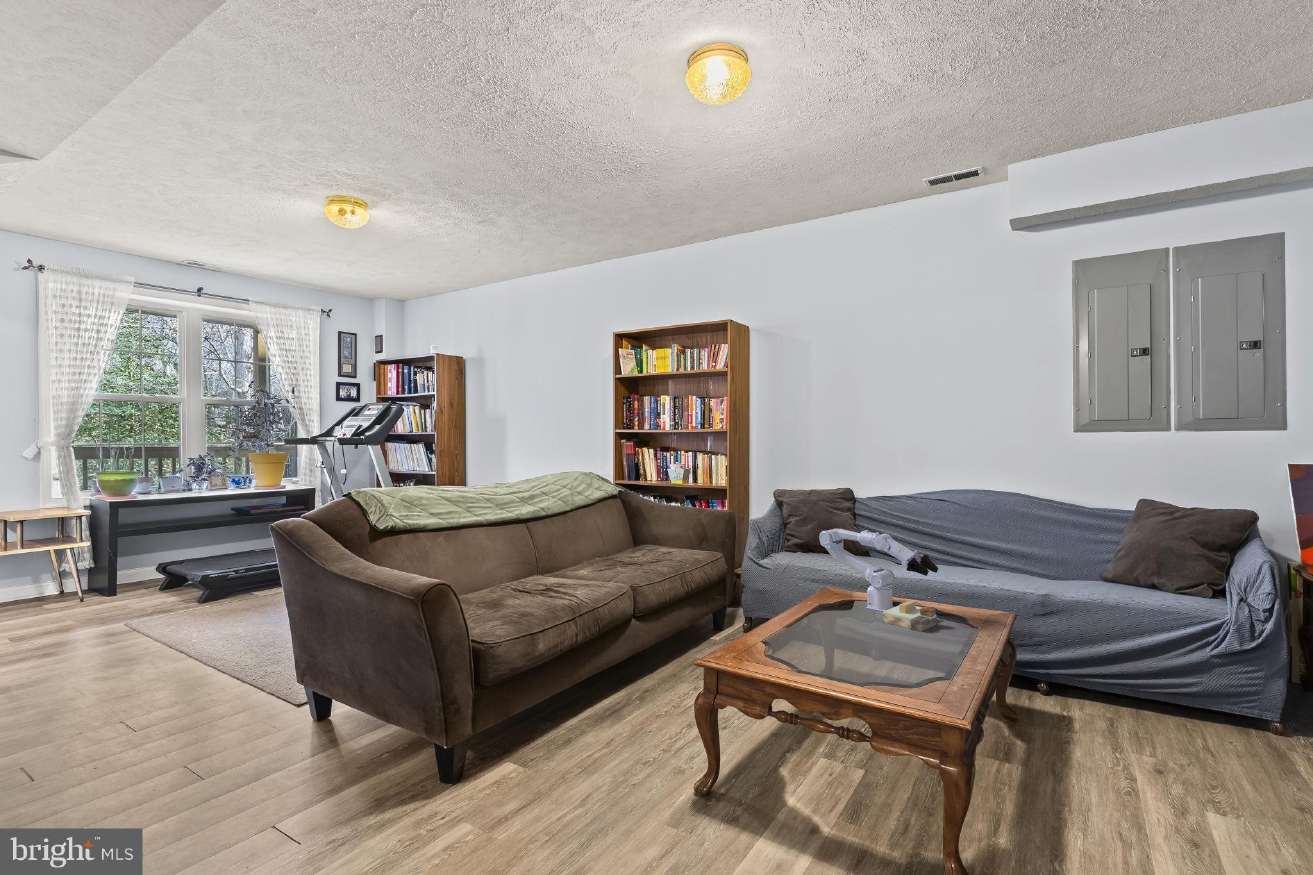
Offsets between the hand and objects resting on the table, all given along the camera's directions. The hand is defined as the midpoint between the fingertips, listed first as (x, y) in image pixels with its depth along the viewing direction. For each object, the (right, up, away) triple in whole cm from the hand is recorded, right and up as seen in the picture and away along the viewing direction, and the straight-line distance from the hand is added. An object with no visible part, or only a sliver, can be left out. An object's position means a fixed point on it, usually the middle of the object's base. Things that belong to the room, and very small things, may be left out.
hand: (932, 571), depth 242 cm
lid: (-8, -17, -1) cm, 19 cm away
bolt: (-4, -15, -6) cm, 16 cm away
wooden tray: (-9, -19, -2) cm, 21 cm away
